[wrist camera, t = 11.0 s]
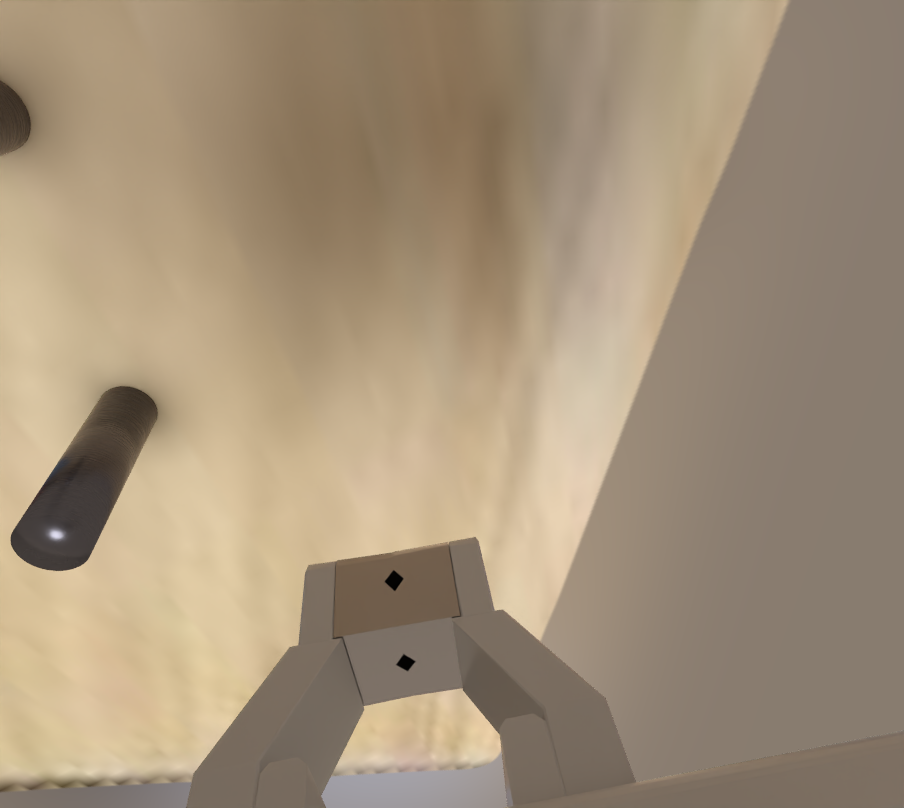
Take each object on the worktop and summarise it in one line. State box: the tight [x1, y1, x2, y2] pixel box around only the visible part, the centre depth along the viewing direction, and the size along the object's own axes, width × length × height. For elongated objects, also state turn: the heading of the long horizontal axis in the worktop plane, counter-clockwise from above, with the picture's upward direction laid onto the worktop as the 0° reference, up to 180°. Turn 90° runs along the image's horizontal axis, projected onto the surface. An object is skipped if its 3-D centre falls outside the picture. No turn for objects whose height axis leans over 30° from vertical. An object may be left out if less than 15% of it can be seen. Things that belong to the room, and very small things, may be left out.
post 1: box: [11, 387, 157, 571], centre depth 26 cm, size 3×3×9 cm
